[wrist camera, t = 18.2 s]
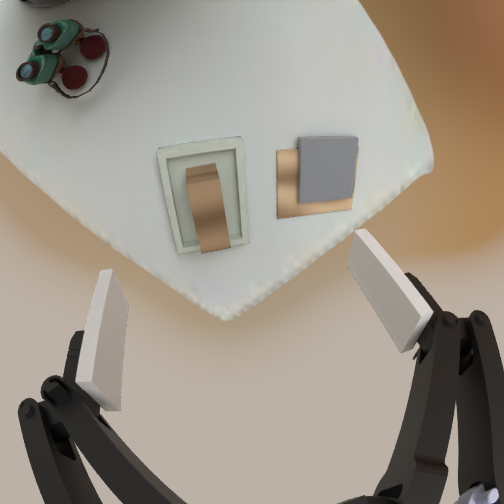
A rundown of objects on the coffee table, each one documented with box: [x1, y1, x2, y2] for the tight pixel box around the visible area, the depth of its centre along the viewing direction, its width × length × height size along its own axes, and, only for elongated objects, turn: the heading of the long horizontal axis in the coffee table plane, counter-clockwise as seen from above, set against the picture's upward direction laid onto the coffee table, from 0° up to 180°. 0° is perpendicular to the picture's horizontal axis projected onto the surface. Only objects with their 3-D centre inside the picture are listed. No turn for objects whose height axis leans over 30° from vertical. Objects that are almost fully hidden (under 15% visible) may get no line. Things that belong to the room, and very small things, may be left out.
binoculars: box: [16, 19, 109, 99], centre depth 21 cm, size 9×11×10 cm
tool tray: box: [157, 136, 249, 254], centre depth 40 cm, size 16×11×2 cm
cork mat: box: [277, 147, 359, 219], centre depth 43 cm, size 11×13×1 cm
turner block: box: [186, 163, 231, 253], centre depth 38 cm, size 10×4×6 cm, turn 5°
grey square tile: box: [297, 136, 358, 204], centre depth 41 cm, size 1×9×10 cm
